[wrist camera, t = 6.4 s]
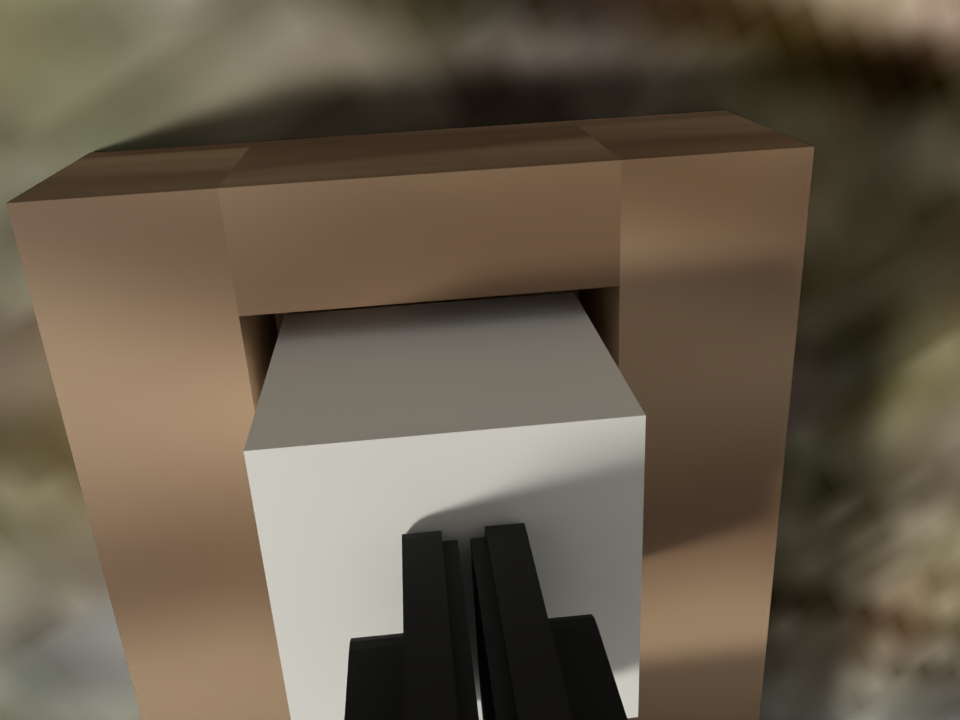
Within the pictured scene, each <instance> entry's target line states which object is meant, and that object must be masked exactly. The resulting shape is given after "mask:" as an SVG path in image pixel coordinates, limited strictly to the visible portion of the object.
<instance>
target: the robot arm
mask: <svg viewBox="0 0 960 720" xmlns="http://www.w3.org/2000/svg"><path fill="white" fill-rule="evenodd" d="M470 545H471V560H472V576H473V591H474V606H475V621H476V636H477V651H478V666H479V681H480V696H481V707H482V717H483V720H628V719H627V716H626V713H625V710H624V707H623V704H622V700H621V697H620V694H619V691H618V688H617V685H616V682H615V679H614V676H613V672H612V669H611V666H610V663H609V660H608V657H607V654H606V651H605V648H604V644H603V641H602V638H601V635H600V632H599V629H598V626H597V623H596V621H595V618H594V616H593V615H592V614H586V615H577V616H567V617H557V618H548V616H547V611H546V607H545V603H544V599H543V595H542V591H541V587H540V583H539V579H538V575H537V571H536V567H535V563H534V559H533V555H532V551H531V547H530V543H529V538H528V534H527V530H526V527H525V524H524V523H515V524H505V525H494V526H485V537H480V538H470ZM402 582H403V633H398V634H388V635H378V636H368V637H358V638H351V640H350V645H349V656H348V672H347V687H346V702H345V717H344V720H479V715H478V706H477V698H476V689H475V681H474V672H473V664H472V655H471V647H470V638H469V630H468V621H467V613H466V604H465V596H464V587H463V579H462V570H461V562H460V554H459V545H458V540H449V541H442V533H441V531H430V532H419V533H409V534H402Z"/></svg>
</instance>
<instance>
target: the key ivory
mask: <svg viewBox="0 0 960 720" xmlns="http://www.w3.org/2000/svg"><path fill="white" fill-rule="evenodd" d="M645 428H646V415H645V413H644V411H643V410H642V408H641V406H640V404H639V403H638V401H637V399H636V398H635V396H634V394H633V393H632V391H631V389H630V387H629V386H628V384H627V382H626V381H625V379H624V377H623V375H622V374H621V372H620V370H619V369H618V367H617V365H616V363H615V362H614V360H613V358H612V357H611V355H610V353H609V351H608V350H607V348H606V346H605V345H604V343H603V341H602V340H601V338H600V336H599V334H598V333H597V331H596V329H595V328H594V326H593V324H592V322H591V321H590V319H589V317H588V316H587V314H586V312H585V310H584V309H583V307H582V305H581V304H580V302H579V300H578V298H577V297H576V295H575V293H574V292H566V293H554V294H541V295H529V296H516V297H504V298H491V299H478V300H466V301H453V302H441V303H428V304H416V305H403V306H390V307H378V308H365V309H353V310H340V311H328V312H315V313H302V314H290V315H284V318H283V322H282V325H281V328H280V332H279V335H278V338H277V342H276V345H275V348H274V351H273V355H272V358H271V361H270V365H269V368H268V371H267V375H266V378H265V381H264V385H263V388H262V391H261V395H260V398H259V401H258V405H257V408H256V411H255V414H254V418H253V421H252V424H251V428H250V431H249V434H248V438H247V441H246V444H245V448H244V451H243V452H244V457H245V463H246V469H247V474H248V480H249V486H250V491H251V497H252V503H253V508H254V514H255V520H256V525H257V531H258V536H259V542H260V548H261V553H262V559H263V565H264V570H265V576H266V582H267V587H268V593H269V599H270V604H271V610H272V616H273V621H274V627H275V633H276V638H277V644H278V650H279V655H280V661H281V667H282V672H283V678H284V684H285V689H286V695H287V701H288V706H289V712H290V718H291V720H344V717H345V702H346V687H347V672H348V656H349V645H350V640H351V638H358V637H368V636H378V635H388V634H398V633H403V582H402V534H409V533H419V532H430V531H441V533H442V541H449V540H458V545H459V554H460V562H461V570H462V579H463V587H464V596H465V604H466V613H467V621H468V630H469V638H470V647H471V655H472V664H473V672H474V681H475V689H476V698H477V706H478V715H479V720H483V717H482V707H481V696H480V681H479V666H478V651H477V636H476V621H475V606H474V591H473V576H472V560H471V545H470V538H480V537H485V526H494V525H505V524H515V523H524V524H525V527H526V530H527V534H528V538H529V543H530V547H531V551H532V555H533V559H534V563H535V567H536V571H537V575H538V579H539V583H540V587H541V591H542V595H543V599H544V603H545V607H546V611H547V616H548V618H557V617H567V616H577V615H586V614H592V615H593V616H594V618H595V621H596V623H597V626H598V629H599V632H600V635H601V638H602V641H603V644H604V648H605V651H606V654H607V657H608V660H609V663H610V666H611V669H612V672H613V676H614V679H615V682H616V685H617V688H618V691H619V694H620V697H621V700H622V704H623V707H624V710H625V713H626V716H627V718H634V717H638V703H639V664H640V624H641V585H642V546H643V507H644V467H645Z"/></svg>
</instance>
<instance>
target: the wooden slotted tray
mask: <svg viewBox="0 0 960 720" xmlns="http://www.w3.org/2000/svg"><path fill="white" fill-rule="evenodd" d="M813 157H814V146H812V145H809V144H807V143H804V142H802V141H799V140H797V139H794V138H792V137H790V136H787V135H785V134H782V133H780V132H777V131H775V130H772V129H770V128H767V127H765V126H762V125H760V124H757V123H755V122H753V121H750V120H748V119H745V118H743V117H740V116H738V115H735V114H733V113H730V112H728V111H725V110H722V111H707V112H692V113H677V114H662V115H647V116H632V117H617V118H602V119H587V120H572V121H557V122H542V123H527V124H512V125H497V126H482V127H467V128H452V129H437V130H422V131H407V132H392V133H377V134H362V135H347V136H332V137H317V138H302V139H287V140H272V141H257V142H242V143H227V144H212V145H197V146H182V147H167V148H152V149H137V150H122V151H107V152H92V153H89V154H87V155H85V156H84V157H82V158H80V159H79V160H77V161H75V162H74V163H72V164H70V165H69V166H67V167H65V168H64V169H62V170H60V171H59V172H57V173H55V174H54V175H52V176H50V177H49V178H47V179H45V180H44V181H42V182H40V183H39V184H37V185H35V186H34V187H32V188H30V189H29V190H27V191H25V192H24V193H22V194H20V195H19V196H17V197H15V198H14V199H12V200H11V201H9V202H7V203H6V205H7V209H8V212H9V216H10V220H11V224H12V227H13V231H14V235H15V239H16V243H17V246H18V250H19V254H20V258H21V262H22V265H23V269H24V273H25V277H26V281H27V284H28V288H29V292H30V296H31V300H32V303H33V307H34V311H35V315H36V319H37V322H38V326H39V330H40V334H41V338H42V341H43V345H44V349H45V353H46V357H47V360H48V364H49V368H50V372H51V376H52V379H53V383H54V387H55V391H56V395H57V398H58V402H59V406H60V410H61V414H62V417H63V421H64V425H65V429H66V433H67V436H68V440H69V444H70V448H71V451H72V455H73V459H74V463H75V467H76V470H77V474H78V478H79V482H80V486H81V489H82V493H83V497H84V501H85V505H86V508H87V512H88V516H89V520H90V524H91V527H92V531H93V535H94V539H95V543H96V546H97V550H98V554H99V558H100V562H101V565H102V569H103V573H104V577H105V581H106V584H107V588H108V592H109V596H110V600H111V603H112V607H113V611H114V615H115V619H116V622H117V626H118V630H119V634H120V638H121V641H122V645H123V649H124V653H125V656H126V660H127V664H128V668H129V672H130V675H131V679H132V683H133V687H134V691H135V694H136V698H137V702H138V706H139V710H140V713H141V717H142V720H291V718H290V712H289V706H288V701H287V695H286V689H285V684H284V678H283V672H282V667H281V661H280V655H279V650H278V644H277V638H276V633H275V627H274V621H273V616H272V610H271V604H270V599H269V593H268V587H267V582H266V576H265V570H264V565H263V559H262V553H261V548H260V542H259V536H258V531H257V525H256V520H255V514H254V508H253V503H252V497H251V491H250V486H249V480H248V474H247V469H246V463H245V457H244V452H243V451H244V448H245V444H246V441H247V438H248V434H249V431H250V428H251V424H252V421H253V418H254V414H255V411H256V408H257V405H258V401H259V398H260V395H261V391H262V388H263V385H264V381H265V378H266V375H267V371H268V368H269V365H270V361H271V358H272V355H273V351H274V348H275V345H276V342H277V338H278V335H279V332H280V328H281V325H282V322H283V318H284V315H290V314H302V313H315V312H328V311H340V310H353V309H365V308H378V307H390V306H403V305H416V304H428V303H441V302H453V301H466V300H478V299H491V298H504V297H516V296H529V295H541V294H554V293H566V292H574V293H575V295H576V297H577V298H578V300H579V302H580V304H581V305H582V307H583V309H584V310H585V312H586V314H587V316H588V317H589V319H590V321H591V322H592V324H593V326H594V328H595V329H596V331H597V333H598V334H599V336H600V338H601V340H602V341H603V343H604V345H605V346H606V348H607V350H608V351H609V353H610V355H611V357H612V358H613V360H614V362H615V363H616V365H617V367H618V369H619V370H620V372H621V374H622V375H623V377H624V379H625V381H626V382H627V384H628V386H629V387H630V389H631V391H632V393H633V394H634V396H635V398H636V399H637V401H638V403H639V404H640V406H641V408H642V410H643V411H644V413H645V415H646V428H645V467H644V507H643V546H642V585H641V624H640V664H639V703H638V717H634V718H627V719H628V720H759V718H760V708H761V698H762V687H763V677H764V666H765V656H766V646H767V635H768V625H769V614H770V604H771V594H772V583H773V573H774V562H775V552H776V542H777V531H778V521H779V510H780V500H781V490H782V479H783V469H784V458H785V448H786V438H787V427H788V417H789V406H790V396H791V386H792V375H793V365H794V354H795V344H796V334H797V323H798V313H799V303H800V292H801V282H802V271H803V261H804V251H805V240H806V230H807V219H808V209H809V199H810V188H811V178H812V167H813Z"/></svg>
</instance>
